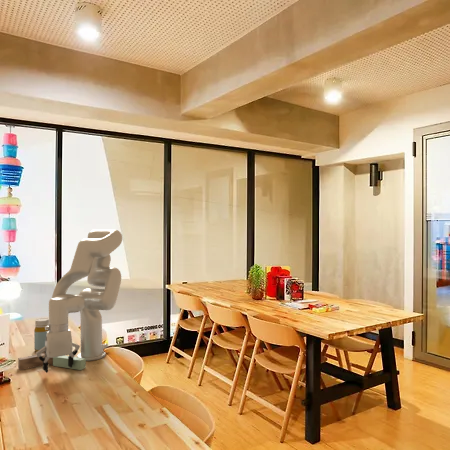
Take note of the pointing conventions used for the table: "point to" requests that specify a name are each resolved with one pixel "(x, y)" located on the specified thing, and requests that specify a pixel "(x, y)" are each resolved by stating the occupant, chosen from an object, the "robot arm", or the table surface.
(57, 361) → the hinged leg
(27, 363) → the brown angled wooden piece
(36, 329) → the bottle
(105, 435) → the table surface
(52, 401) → the table surface
